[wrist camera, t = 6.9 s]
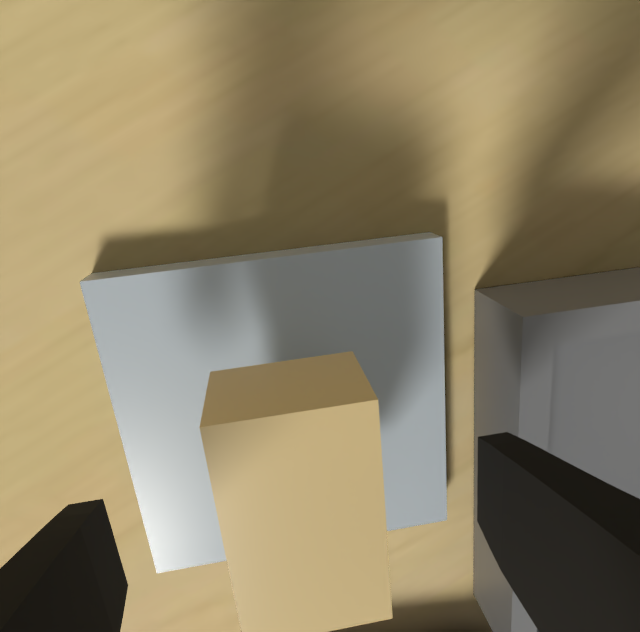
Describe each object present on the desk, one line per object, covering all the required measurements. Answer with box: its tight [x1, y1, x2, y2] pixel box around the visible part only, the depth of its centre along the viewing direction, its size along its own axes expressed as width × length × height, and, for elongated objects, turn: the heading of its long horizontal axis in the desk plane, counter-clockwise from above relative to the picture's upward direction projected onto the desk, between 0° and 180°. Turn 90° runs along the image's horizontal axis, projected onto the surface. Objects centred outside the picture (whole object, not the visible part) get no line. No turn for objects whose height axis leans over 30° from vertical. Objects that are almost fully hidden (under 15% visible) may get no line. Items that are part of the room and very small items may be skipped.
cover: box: [80, 232, 447, 632], centre depth 11 cm, size 9×9×5 cm
